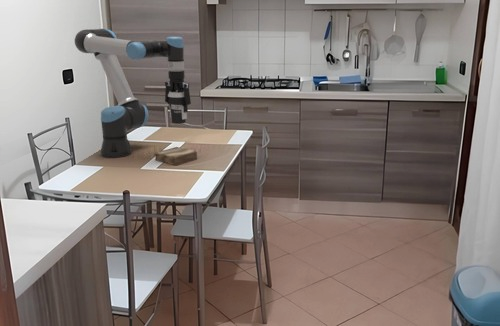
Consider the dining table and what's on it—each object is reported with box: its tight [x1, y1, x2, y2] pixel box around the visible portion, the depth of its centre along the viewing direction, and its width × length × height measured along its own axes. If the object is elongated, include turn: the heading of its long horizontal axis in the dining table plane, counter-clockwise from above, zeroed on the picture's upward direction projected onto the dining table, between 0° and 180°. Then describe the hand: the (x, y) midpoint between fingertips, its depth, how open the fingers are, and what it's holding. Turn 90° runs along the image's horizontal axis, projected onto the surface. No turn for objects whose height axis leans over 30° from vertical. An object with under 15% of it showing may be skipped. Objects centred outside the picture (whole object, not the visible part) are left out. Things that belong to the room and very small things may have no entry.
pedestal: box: [154, 146, 198, 166], centre depth 236 cm, size 14×14×4 cm
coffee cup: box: [168, 91, 186, 125], centre depth 236 cm, size 10×10×15 cm
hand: (178, 117), depth 238 cm, fingers closed on coffee cup, 7 cm apart
